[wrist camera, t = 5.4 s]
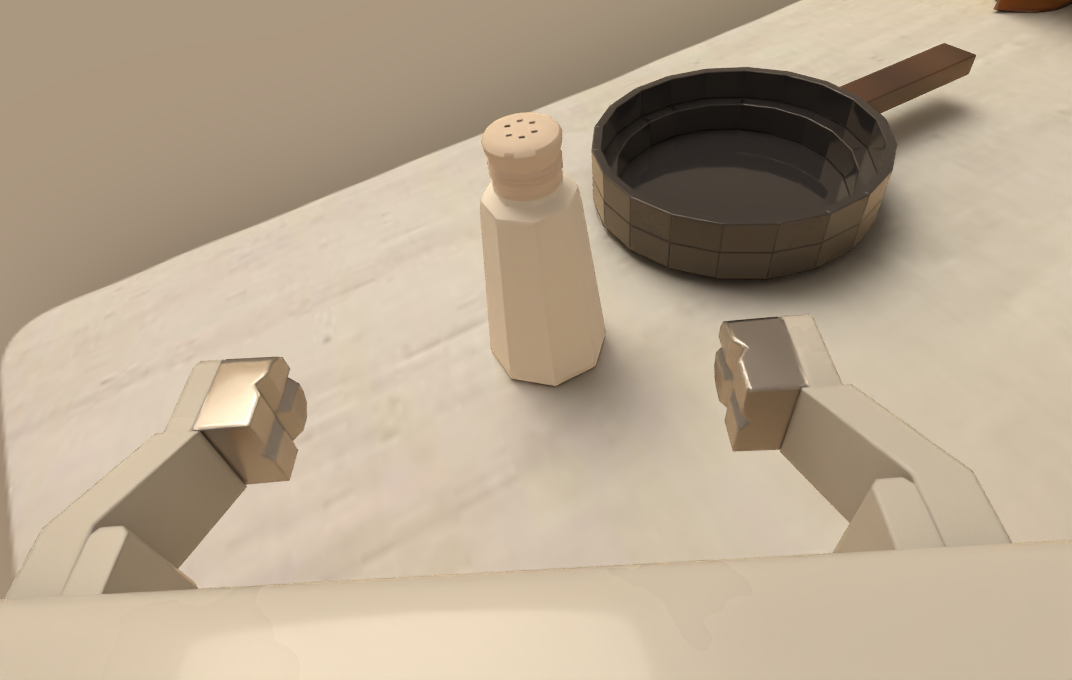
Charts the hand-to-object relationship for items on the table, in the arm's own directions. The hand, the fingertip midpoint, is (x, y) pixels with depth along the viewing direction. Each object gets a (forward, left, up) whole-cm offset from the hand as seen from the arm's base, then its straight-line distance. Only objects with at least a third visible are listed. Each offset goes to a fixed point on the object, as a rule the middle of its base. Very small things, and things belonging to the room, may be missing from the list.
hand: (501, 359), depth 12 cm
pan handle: (-32, -15, -11) cm, 37 cm away
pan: (-20, -15, -13) cm, 28 cm away
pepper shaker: (-6, -11, -13) cm, 18 cm away
